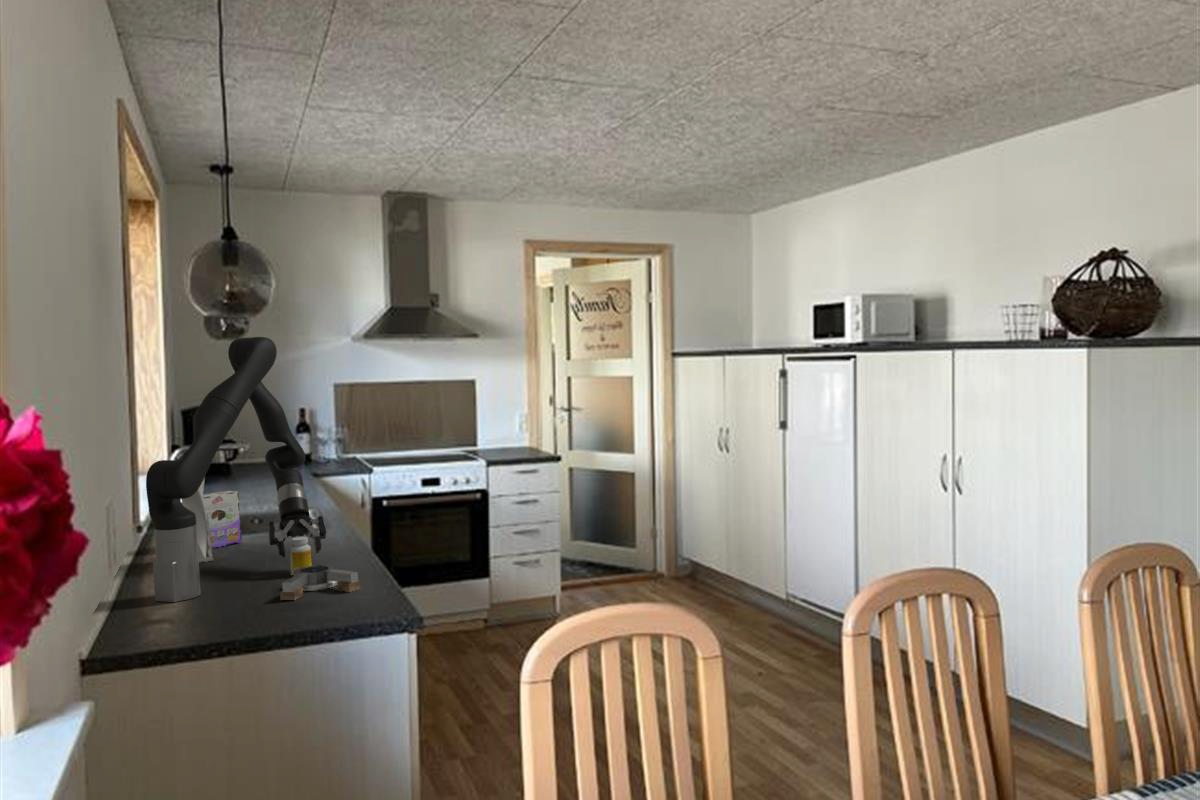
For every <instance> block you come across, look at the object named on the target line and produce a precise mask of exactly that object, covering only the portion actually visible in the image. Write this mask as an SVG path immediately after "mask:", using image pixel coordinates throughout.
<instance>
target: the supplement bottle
mask: <svg viewBox="0 0 1200 800" xmlns="http://www.w3.org/2000/svg"><path fill="white" fill-rule="evenodd" d="M308 538H309V537H308V536H296V537H292V539H291V545H292V546H291V547H290V548H289V562H290V563H289V565H290V566H289V567H290V575H291V576H292V575H294V576H295V571H296V570H297V569H300V568H303V567H308V566H313V562H312V547H311V545H310V544H308V542H309V539H308ZM294 576H293V577H294Z"/></svg>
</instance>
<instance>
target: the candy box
mask: <svg viewBox="0 0 1200 800" xmlns="http://www.w3.org/2000/svg"><path fill="white" fill-rule="evenodd" d="M203 505H204V509H205V515H208V520H209V529H211V544H212V548H214V549H217V548H216V547H219V548H222V547H221V546H224V547H227V546H226V545H228V546H232V545H231V544H233V545H236V544H235V543H238V544H242V543H241V542H242V541H243V540H242V539H243V538H242V527H241V515H240V514H241V512H240V511H241V510H240V499H239V491H237V490H236V491H235V490H224V491H223V490H222V491H218V492H210V493H205V494H204V493H203ZM206 521H207V516H206Z"/></svg>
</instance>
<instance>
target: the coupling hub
mask: <svg viewBox="0 0 1200 800" xmlns="http://www.w3.org/2000/svg"><path fill="white" fill-rule="evenodd" d="M333 569H335V568H334V566H332V565H331V564H330V565H329V564H317V565H312V566H308V567H303V568H300V569H297V570H296V571H295V576H296V575H298V574H308V583H307V584H305V585H303V586H302V587H303V591H304V592H303V593H306V592H305V591H313V592H319V591H318V590H321V591H324V589H326V590H328V589H327V588H330V589H332V588H331V587H333V588H335V587H334V586H336V585H337V582H338V581H330V580H327V571H329V570H333ZM336 587H337V586H336Z"/></svg>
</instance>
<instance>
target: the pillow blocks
mask: <svg viewBox="0 0 1200 800" xmlns="http://www.w3.org/2000/svg"><path fill="white" fill-rule="evenodd" d="M336 587H337V588H336V589H337V592H342V591H345V592H344V593H349V592H350V593H352V591H353V592H356V591H358V590H361V589H362V588H361V580H359V579H358V581H357V582H354V583H346V582H337V586H336ZM355 590H356V591H355ZM279 595H280V596H279V597H280V598H279V599H280V601H281V600H295V601H297V600H299V599H300V597H301V598H302V597H304V592H303V587H300V588H298V589H296V590H294V591H292V592H283V590H281V591H280V593H279ZM298 598H299V599H298ZM296 599H297V600H296Z"/></svg>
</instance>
